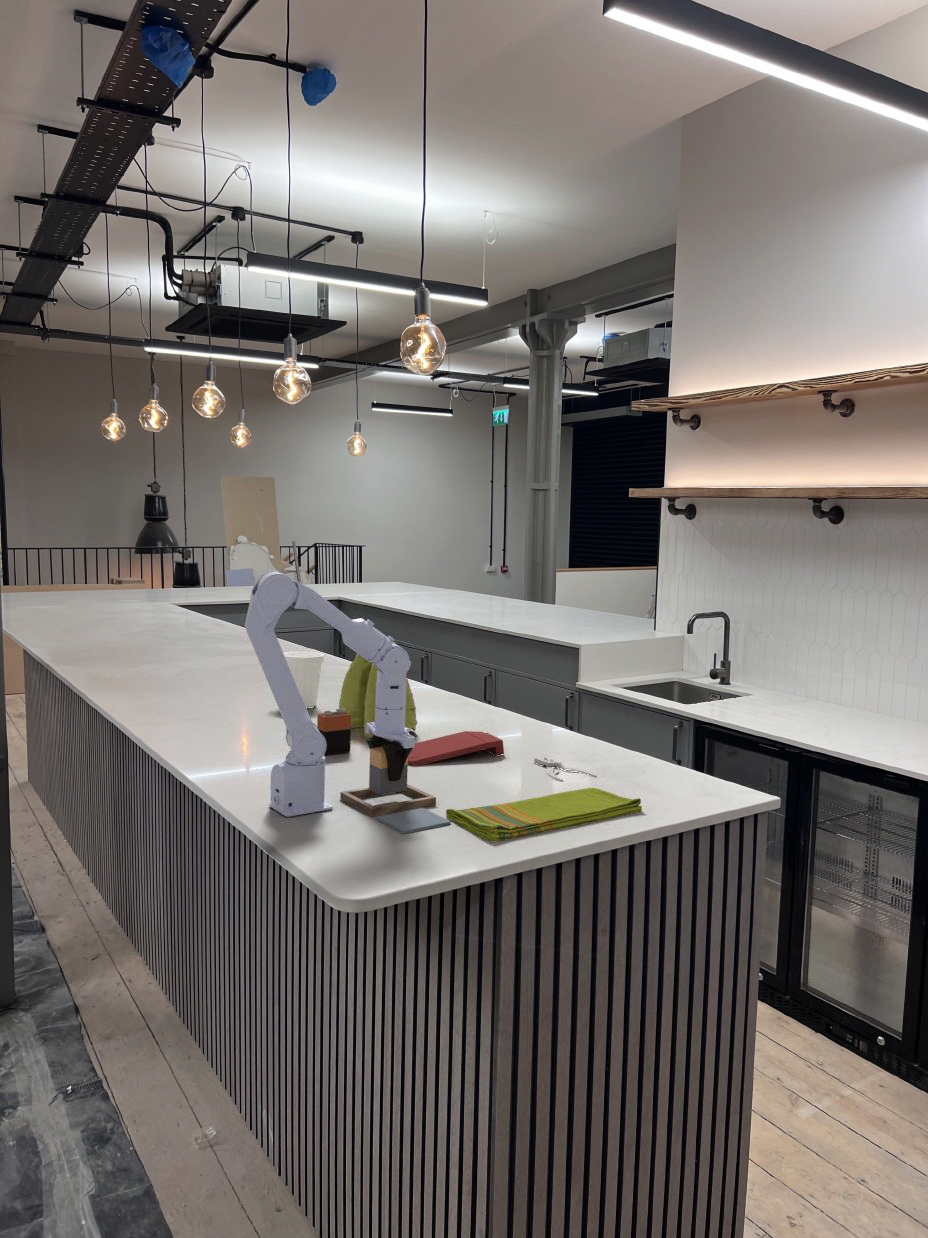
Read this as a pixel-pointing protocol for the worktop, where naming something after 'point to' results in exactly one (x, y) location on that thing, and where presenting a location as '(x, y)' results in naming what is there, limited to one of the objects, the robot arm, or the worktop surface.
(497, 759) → the worktop surface
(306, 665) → the cup
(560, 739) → the worktop surface
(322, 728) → the battery
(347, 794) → the frame
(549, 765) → the pliers
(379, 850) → the worktop surface
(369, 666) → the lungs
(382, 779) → the orange grey tall block
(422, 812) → the mat
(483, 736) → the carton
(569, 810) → the dish towel
